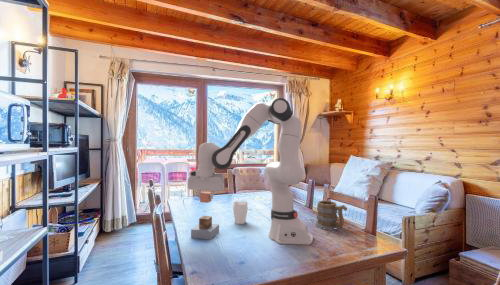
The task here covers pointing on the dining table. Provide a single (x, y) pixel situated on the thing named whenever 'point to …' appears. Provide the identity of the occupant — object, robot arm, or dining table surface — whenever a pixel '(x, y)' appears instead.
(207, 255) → the dining table surface
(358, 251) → the dining table surface
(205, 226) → the walnut cube
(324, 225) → the tankard
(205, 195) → the terracotta cube
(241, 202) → the cup
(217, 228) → the plinth
